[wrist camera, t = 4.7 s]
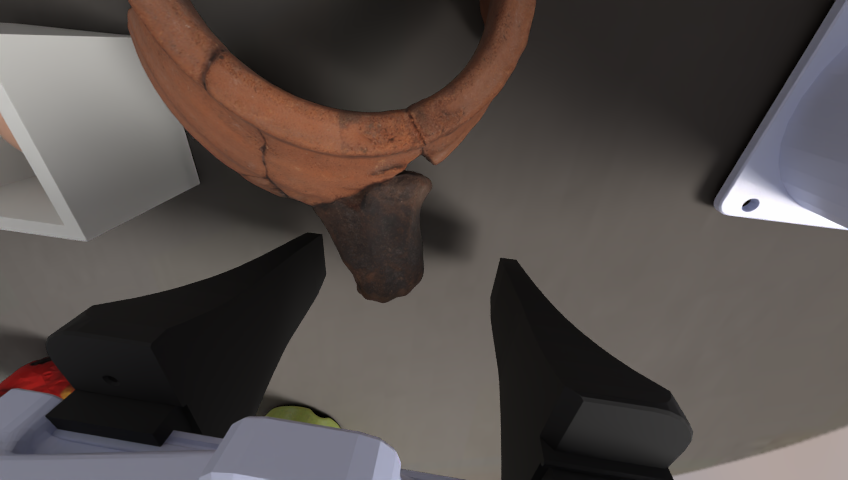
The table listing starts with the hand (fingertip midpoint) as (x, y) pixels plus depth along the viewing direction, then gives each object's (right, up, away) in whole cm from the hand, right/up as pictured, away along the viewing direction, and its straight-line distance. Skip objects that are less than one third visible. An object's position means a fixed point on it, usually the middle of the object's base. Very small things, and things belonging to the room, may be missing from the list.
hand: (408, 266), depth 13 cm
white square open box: (-12, +6, 0) cm, 13 cm away
